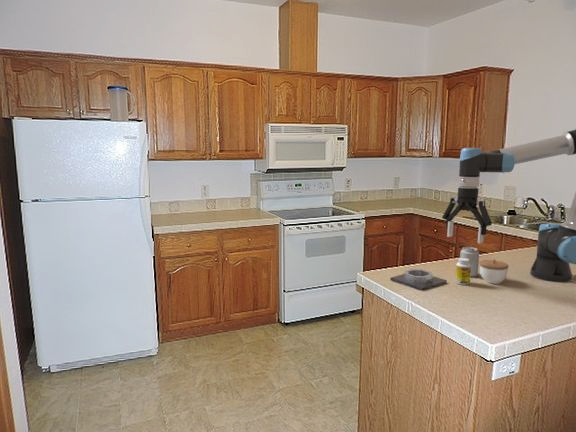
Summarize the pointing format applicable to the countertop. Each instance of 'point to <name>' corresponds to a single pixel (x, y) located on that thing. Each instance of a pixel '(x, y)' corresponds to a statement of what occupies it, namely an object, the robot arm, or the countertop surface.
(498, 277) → the lidded jar
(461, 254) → the can
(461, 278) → the supplement bottle
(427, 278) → the collar
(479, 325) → the countertop surface
